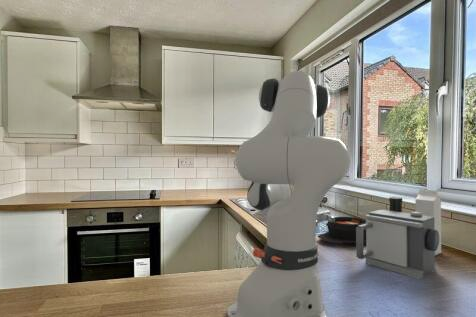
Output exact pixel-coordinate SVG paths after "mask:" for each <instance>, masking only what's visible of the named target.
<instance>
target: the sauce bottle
mask: <svg viewBox="0 0 476 317" xmlns="http://www.w3.org/2000/svg"><path fill="white" fill-rule="evenodd" d="M388 201H389V210H388V211H395V212H403V198H402V197H401V196H390V197H389V199H388Z"/></svg>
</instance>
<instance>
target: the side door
mask: <svg viewBox="0 0 476 317" xmlns="http://www.w3.org/2000/svg"><path fill="white" fill-rule="evenodd" d="M365 220H366V224H363V225H359V226H358V227H357V228H356V244H355V247H356V248H355V251H356V254H355V256H356V258H357V259H360V260H364V259H366V258H367V257H370V258H374V259H378V260H381V261H385V262H388V263H392V264H396V265H399V266H403V267H407V226H406V225H400V224H394V223H388V222H383V221H377V220H371V219H365ZM365 229H366V242H365V243H366V251H364V243H363V230H365Z"/></svg>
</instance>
